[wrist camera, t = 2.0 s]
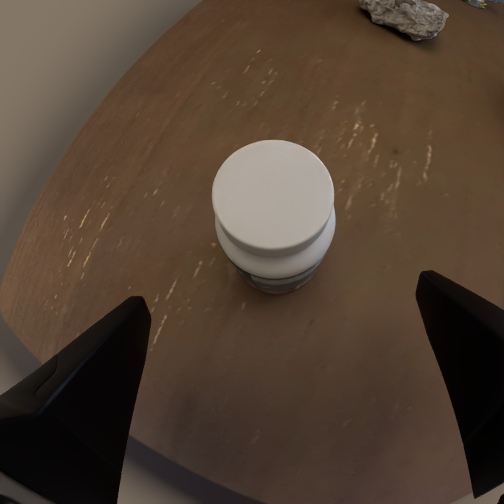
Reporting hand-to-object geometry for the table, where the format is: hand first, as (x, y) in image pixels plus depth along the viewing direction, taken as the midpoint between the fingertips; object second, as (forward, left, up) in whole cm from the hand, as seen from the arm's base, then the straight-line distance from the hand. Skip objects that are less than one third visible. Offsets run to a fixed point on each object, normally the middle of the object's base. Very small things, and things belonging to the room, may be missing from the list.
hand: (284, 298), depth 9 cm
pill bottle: (+4, 0, -11) cm, 12 cm away
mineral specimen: (+33, -23, -11) cm, 42 cm away
